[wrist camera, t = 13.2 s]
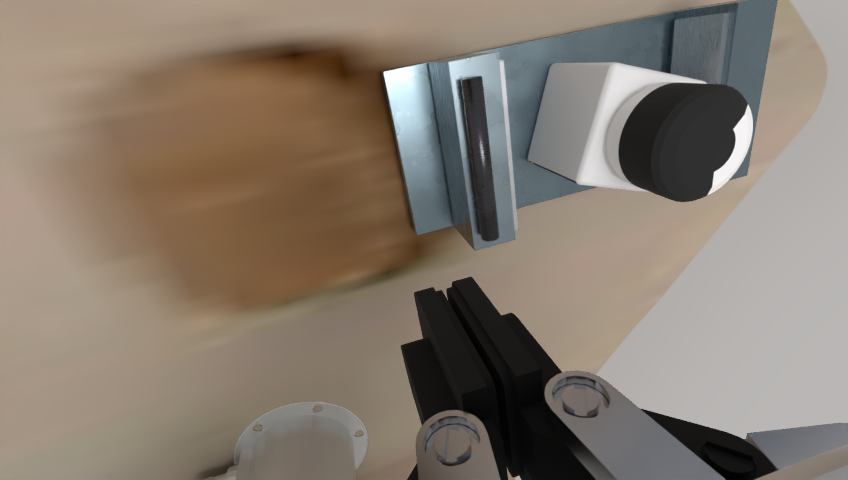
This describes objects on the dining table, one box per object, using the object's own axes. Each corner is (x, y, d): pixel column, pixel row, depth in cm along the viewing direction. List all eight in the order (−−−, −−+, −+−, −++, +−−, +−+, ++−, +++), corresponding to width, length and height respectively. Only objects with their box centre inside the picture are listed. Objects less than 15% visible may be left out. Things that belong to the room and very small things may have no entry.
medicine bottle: (524, 161, 31) (632, 210, 21) (548, 62, 29) (686, 59, 18) (601, 170, 33) (736, 220, 23) (630, 78, 31) (798, 85, 20)
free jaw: (454, 227, 32) (481, 258, 27) (428, 62, 27) (455, 61, 21) (494, 216, 32) (528, 244, 27) (476, 52, 27) (514, 49, 22)
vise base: (413, 228, 33) (433, 263, 27) (380, 71, 28) (396, 73, 22) (678, 157, 36) (747, 175, 31) (693, 7, 31) (778, -6, 26)
